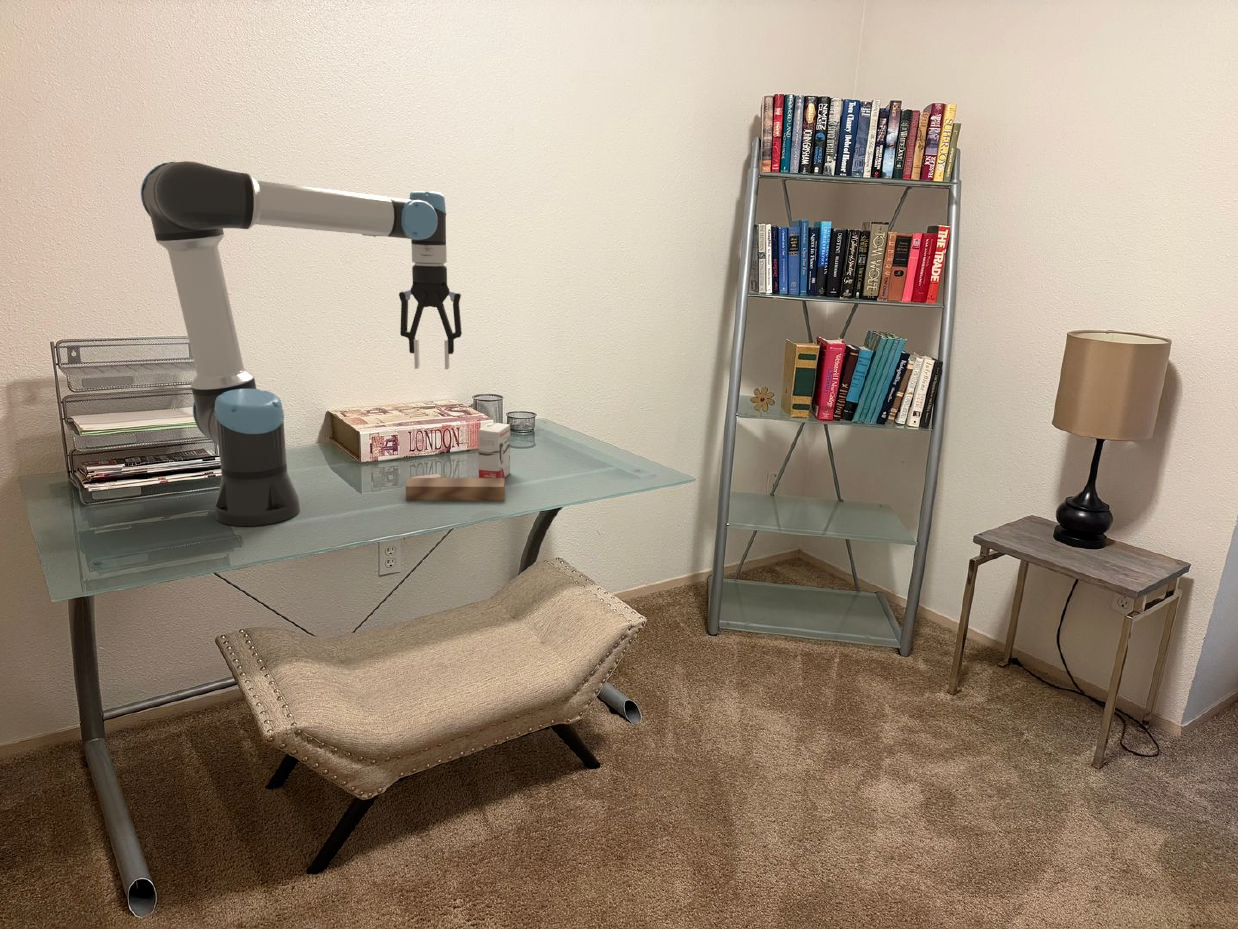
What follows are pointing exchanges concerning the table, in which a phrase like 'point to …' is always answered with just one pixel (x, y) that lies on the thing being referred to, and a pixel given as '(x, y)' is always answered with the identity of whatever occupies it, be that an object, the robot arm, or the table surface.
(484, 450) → the ink box
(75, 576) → the table surface
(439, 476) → the eraser
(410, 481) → the wooden block
